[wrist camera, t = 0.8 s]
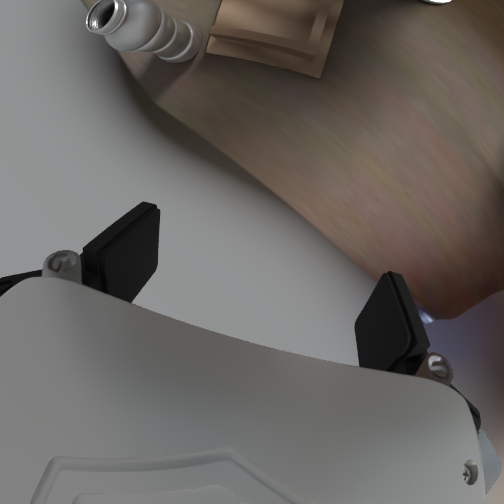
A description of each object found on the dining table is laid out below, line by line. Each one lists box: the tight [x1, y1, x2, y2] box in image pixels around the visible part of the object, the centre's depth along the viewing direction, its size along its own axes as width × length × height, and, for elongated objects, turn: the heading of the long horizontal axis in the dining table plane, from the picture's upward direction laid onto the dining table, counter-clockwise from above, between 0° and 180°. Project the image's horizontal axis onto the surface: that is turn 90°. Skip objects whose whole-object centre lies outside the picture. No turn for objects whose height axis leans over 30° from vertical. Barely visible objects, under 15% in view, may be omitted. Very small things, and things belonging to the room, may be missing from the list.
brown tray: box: [206, 0, 344, 79], centre depth 24 cm, size 18×16×6 cm
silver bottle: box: [86, 0, 202, 63], centre depth 22 cm, size 6×7×20 cm
